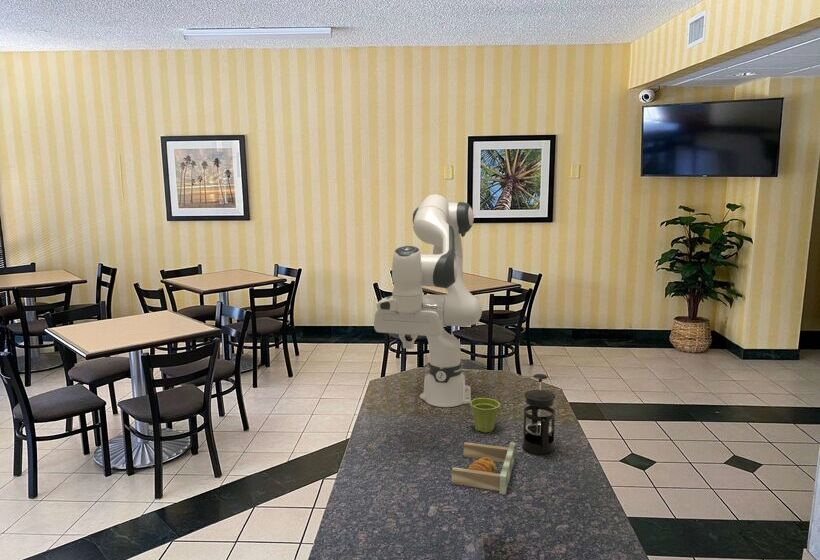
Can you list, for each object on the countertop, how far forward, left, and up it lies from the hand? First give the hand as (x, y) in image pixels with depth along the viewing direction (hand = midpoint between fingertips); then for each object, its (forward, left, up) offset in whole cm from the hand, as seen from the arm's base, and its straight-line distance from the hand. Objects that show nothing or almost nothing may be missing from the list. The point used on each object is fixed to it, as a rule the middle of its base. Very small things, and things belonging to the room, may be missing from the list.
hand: (408, 348), depth 176 cm
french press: (-7, +38, -31) cm, 49 cm away
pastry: (+12, +24, -31) cm, 41 cm away
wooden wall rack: (+11, +24, -31) cm, 40 cm away
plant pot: (-17, +20, -31) cm, 41 cm away
